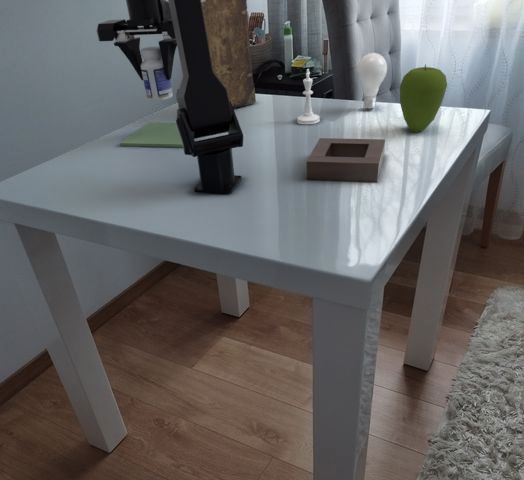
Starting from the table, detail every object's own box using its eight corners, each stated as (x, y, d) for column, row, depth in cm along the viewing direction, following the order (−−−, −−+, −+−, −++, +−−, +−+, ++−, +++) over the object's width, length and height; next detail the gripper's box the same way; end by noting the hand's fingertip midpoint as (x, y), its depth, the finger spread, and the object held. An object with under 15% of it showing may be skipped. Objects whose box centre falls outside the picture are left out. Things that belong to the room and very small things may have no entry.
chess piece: (294, 124, 108) (293, 72, 101) (299, 117, 111) (298, 66, 105) (317, 124, 106) (317, 71, 100) (321, 117, 110) (322, 66, 104)
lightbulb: (364, 104, 116) (367, 49, 109) (389, 107, 113) (393, 50, 106) (349, 111, 112) (351, 55, 105) (374, 114, 109) (378, 57, 102)
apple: (445, 135, 96) (456, 67, 89) (401, 138, 96) (408, 71, 89) (433, 121, 103) (442, 57, 95) (391, 124, 103) (397, 61, 96)
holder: (377, 182, 81) (378, 163, 80) (306, 179, 84) (306, 161, 82) (383, 156, 90) (385, 139, 88) (319, 154, 93) (319, 138, 91)
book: (199, 119, 115) (180, -15, 99) (184, 113, 120) (163, -16, 104) (258, 103, 122) (249, -24, 106) (241, 98, 127) (231, -25, 111)
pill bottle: (175, 94, 105) (167, 45, 99) (169, 101, 101) (160, 50, 95) (151, 95, 106) (141, 46, 100) (144, 102, 102) (133, 52, 96)
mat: (182, 147, 101) (182, 144, 101) (120, 145, 105) (119, 142, 104) (206, 125, 111) (206, 122, 111) (149, 125, 115) (148, 122, 115)
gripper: (202, -24, 94) (213, 69, 104) (114, -18, 99) (132, 71, 109) (179, -18, 86) (194, 82, 96) (84, -12, 91) (107, 84, 101)
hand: (156, 79), depth 101 cm, fingers closed on pill bottle, 5 cm apart
